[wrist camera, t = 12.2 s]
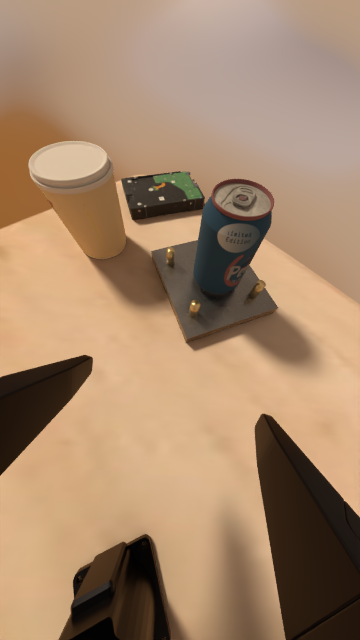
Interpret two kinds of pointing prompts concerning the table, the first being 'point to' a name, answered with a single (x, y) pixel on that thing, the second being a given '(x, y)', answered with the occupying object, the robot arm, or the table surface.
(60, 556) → the table surface
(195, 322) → the chassis plate
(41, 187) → the coffee cup
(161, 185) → the disk drive
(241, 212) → the soda can
